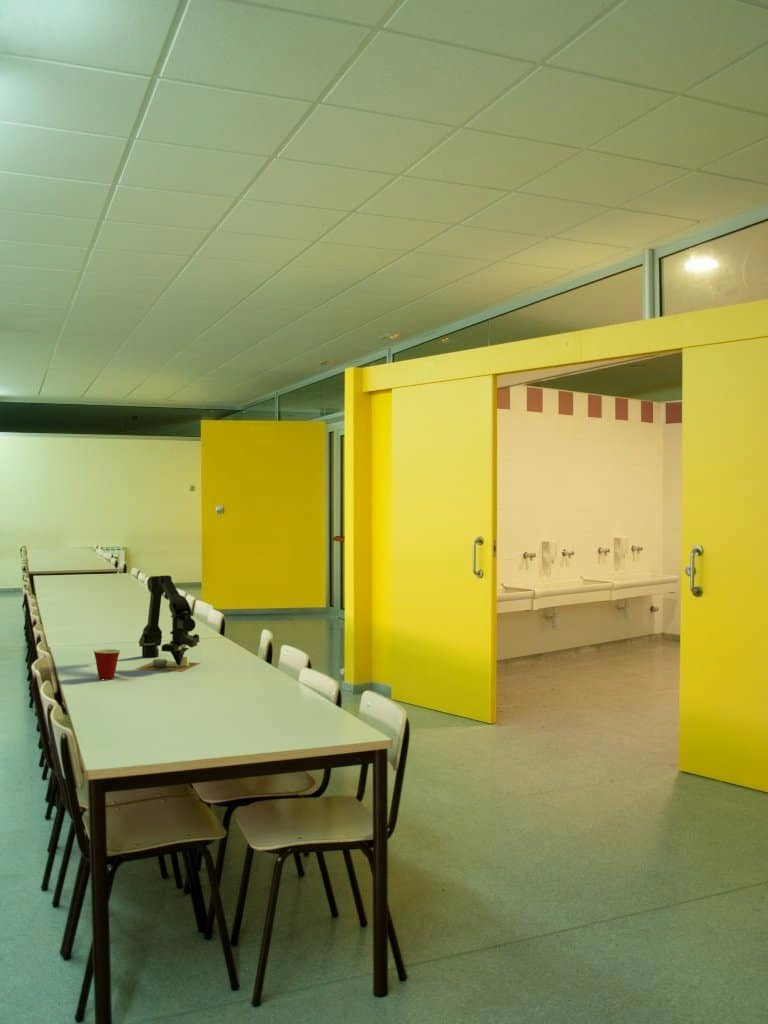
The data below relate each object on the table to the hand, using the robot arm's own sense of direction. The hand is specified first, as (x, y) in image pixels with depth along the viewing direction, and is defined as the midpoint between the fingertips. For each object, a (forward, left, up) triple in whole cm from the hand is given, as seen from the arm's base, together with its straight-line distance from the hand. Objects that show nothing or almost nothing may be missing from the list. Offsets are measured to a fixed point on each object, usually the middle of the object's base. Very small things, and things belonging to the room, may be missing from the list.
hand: (178, 665), depth 370 cm
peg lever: (-5, +2, -1) cm, 6 cm away
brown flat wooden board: (-6, +3, -3) cm, 7 cm away
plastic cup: (-21, -22, -3) cm, 31 cm away
